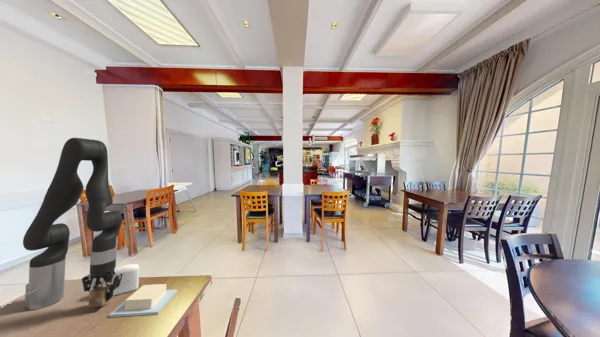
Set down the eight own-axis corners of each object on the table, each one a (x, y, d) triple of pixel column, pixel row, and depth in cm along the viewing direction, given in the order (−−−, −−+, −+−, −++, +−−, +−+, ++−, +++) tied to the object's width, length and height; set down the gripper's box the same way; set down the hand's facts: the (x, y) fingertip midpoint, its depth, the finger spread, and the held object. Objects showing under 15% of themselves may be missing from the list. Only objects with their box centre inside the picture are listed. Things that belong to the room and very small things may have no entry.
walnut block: (88, 306, 74) (89, 291, 74) (100, 298, 79) (101, 284, 79) (102, 306, 74) (102, 291, 74) (113, 297, 79) (113, 283, 79)
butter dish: (109, 317, 71) (109, 304, 71) (137, 293, 85) (137, 282, 85) (158, 314, 73) (158, 301, 73) (177, 291, 87) (178, 281, 87)
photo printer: (139, 285, 91) (140, 260, 91) (137, 290, 87) (138, 264, 88) (110, 292, 85) (111, 266, 86) (107, 298, 82) (108, 270, 82)
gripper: (74, 264, 72) (72, 307, 72) (114, 263, 74) (112, 305, 74) (93, 255, 80) (91, 294, 79) (129, 255, 81) (127, 293, 81)
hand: (101, 299), depth 77 cm, fingers closed on walnut block, 5 cm apart
